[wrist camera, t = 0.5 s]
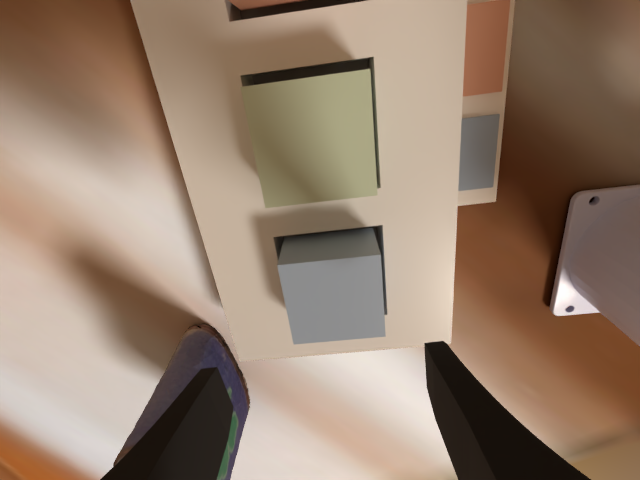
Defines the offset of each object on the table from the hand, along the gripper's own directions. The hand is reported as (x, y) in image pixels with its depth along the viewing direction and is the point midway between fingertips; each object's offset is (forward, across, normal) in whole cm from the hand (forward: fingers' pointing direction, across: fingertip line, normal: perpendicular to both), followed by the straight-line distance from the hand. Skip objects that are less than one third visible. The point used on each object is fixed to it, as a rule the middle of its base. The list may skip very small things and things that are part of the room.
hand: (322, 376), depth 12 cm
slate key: (+7, 0, 0) cm, 7 cm away
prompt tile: (+9, -8, -7) cm, 14 cm away
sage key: (+7, -1, -7) cm, 10 cm away
